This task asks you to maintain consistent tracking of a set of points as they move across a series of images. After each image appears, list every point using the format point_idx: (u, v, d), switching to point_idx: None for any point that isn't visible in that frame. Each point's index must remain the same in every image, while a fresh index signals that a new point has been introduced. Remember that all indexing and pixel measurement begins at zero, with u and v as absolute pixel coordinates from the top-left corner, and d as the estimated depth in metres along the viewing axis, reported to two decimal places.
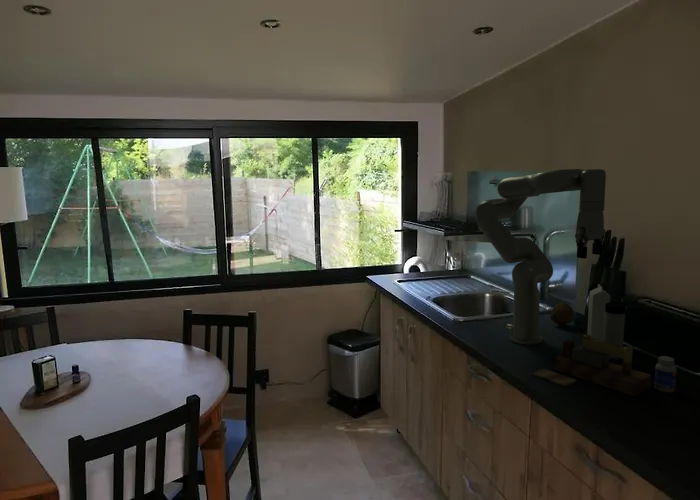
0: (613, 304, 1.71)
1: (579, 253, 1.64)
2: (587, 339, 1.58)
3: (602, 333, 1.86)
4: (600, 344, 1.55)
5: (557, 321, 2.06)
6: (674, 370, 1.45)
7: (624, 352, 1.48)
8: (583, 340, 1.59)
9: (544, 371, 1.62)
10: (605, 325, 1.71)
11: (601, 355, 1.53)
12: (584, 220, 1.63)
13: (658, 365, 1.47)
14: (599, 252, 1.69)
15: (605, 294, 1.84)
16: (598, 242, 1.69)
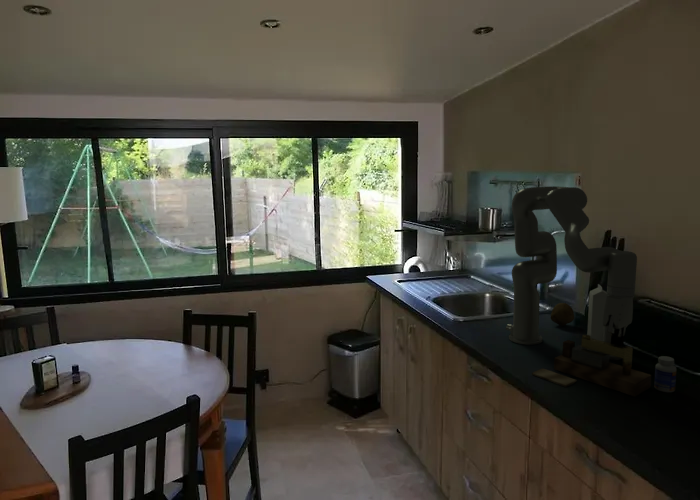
0: None
1: (613, 343, 1.53)
2: (587, 339, 1.58)
3: (602, 333, 1.86)
4: (599, 344, 1.54)
5: (557, 321, 2.06)
6: (674, 370, 1.45)
7: (624, 352, 1.48)
8: (583, 340, 1.59)
9: (544, 371, 1.62)
10: None
11: (601, 355, 1.53)
12: (612, 307, 1.49)
13: (658, 365, 1.47)
14: (620, 345, 1.53)
15: (605, 294, 1.84)
16: None
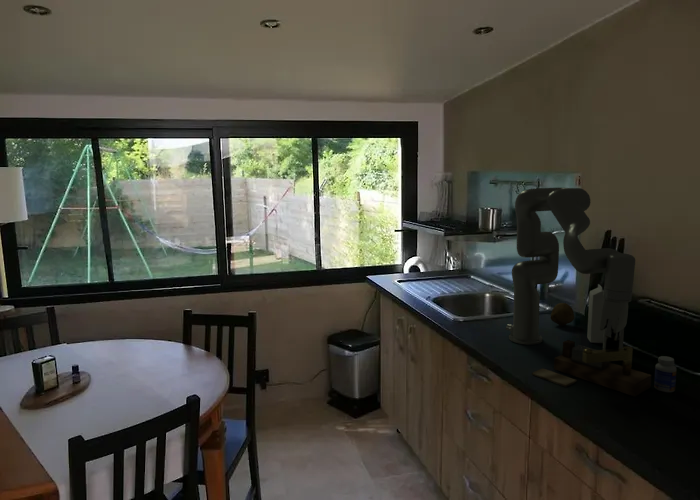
0: None
1: (609, 347, 1.50)
2: (592, 353, 1.46)
3: (602, 333, 1.86)
4: (605, 353, 1.47)
5: (557, 321, 2.06)
6: (674, 370, 1.45)
7: (628, 353, 1.48)
8: (588, 355, 1.46)
9: (544, 371, 1.62)
10: None
11: None
12: (610, 311, 1.45)
13: (658, 365, 1.47)
14: None
15: None
16: None
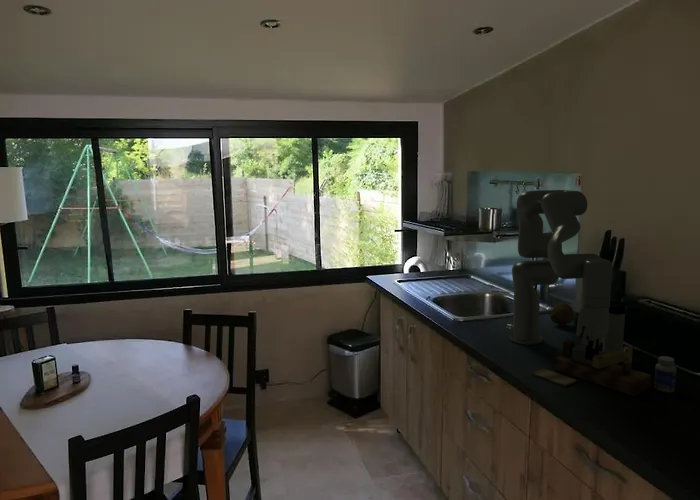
0: (613, 304, 1.71)
1: (588, 355, 1.45)
2: (602, 357, 1.43)
3: None
4: (612, 356, 1.44)
5: (557, 321, 2.06)
6: (674, 370, 1.45)
7: (630, 353, 1.48)
8: (600, 361, 1.42)
9: (544, 371, 1.62)
10: None
11: None
12: (586, 318, 1.41)
13: (658, 365, 1.47)
14: None
15: None
16: None
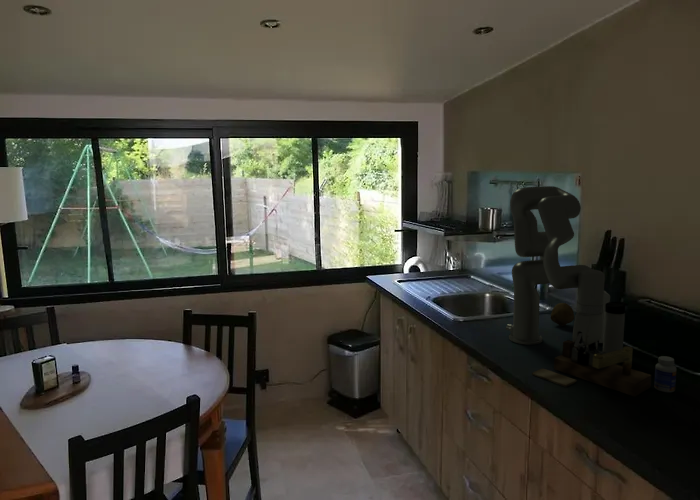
0: (613, 304, 1.71)
1: (580, 360, 1.57)
2: (603, 358, 1.43)
3: (602, 333, 1.86)
4: (612, 356, 1.44)
5: (557, 321, 2.06)
6: (674, 370, 1.45)
7: (630, 353, 1.48)
8: (600, 361, 1.42)
9: (544, 371, 1.62)
10: (605, 325, 1.71)
11: None
12: (581, 324, 1.54)
13: (658, 365, 1.47)
14: None
15: (605, 294, 1.84)
16: (592, 347, 1.59)
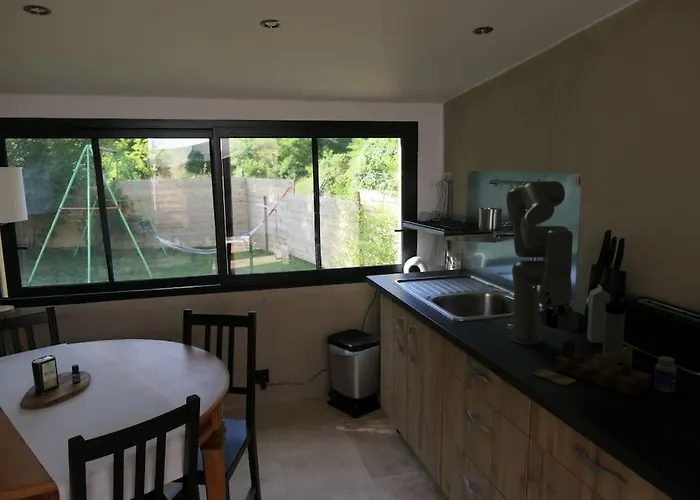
0: (613, 304, 1.71)
1: (548, 322, 1.53)
2: (603, 358, 1.43)
3: (602, 333, 1.86)
4: (612, 356, 1.44)
5: None
6: (674, 370, 1.45)
7: (630, 353, 1.48)
8: (600, 361, 1.42)
9: (544, 371, 1.62)
10: (605, 325, 1.71)
11: (569, 316, 1.49)
12: (549, 284, 1.50)
13: (658, 365, 1.47)
14: None
15: (605, 294, 1.84)
16: (561, 310, 1.55)
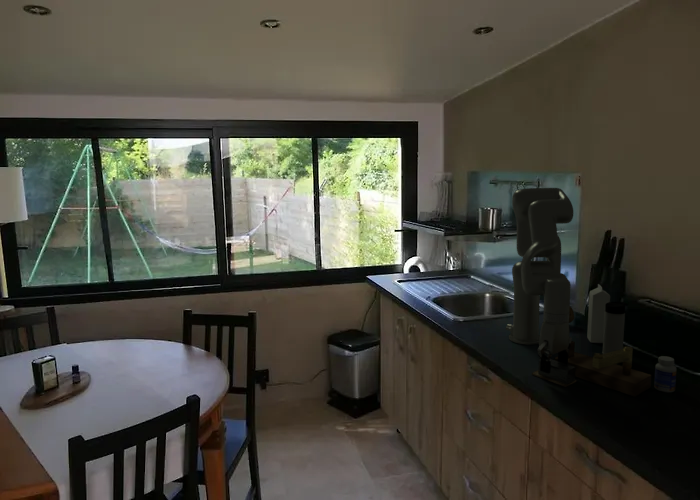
0: (613, 304, 1.71)
1: (542, 367, 1.54)
2: (603, 358, 1.43)
3: (602, 333, 1.86)
4: (612, 356, 1.44)
5: None
6: (674, 370, 1.45)
7: (630, 353, 1.48)
8: (600, 361, 1.42)
9: None
10: (605, 325, 1.71)
11: (567, 369, 1.52)
12: (547, 332, 1.52)
13: (658, 365, 1.47)
14: (565, 363, 1.59)
15: (605, 294, 1.84)
16: (564, 352, 1.59)
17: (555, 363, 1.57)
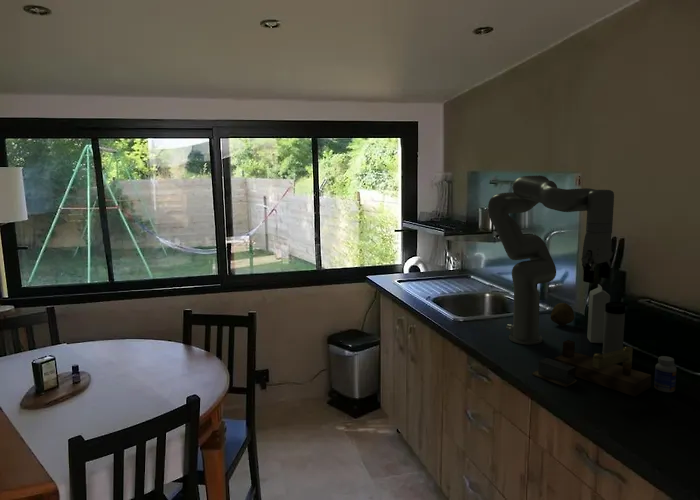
0: (613, 304, 1.71)
1: (586, 277, 1.57)
2: (603, 358, 1.43)
3: (602, 333, 1.86)
4: (612, 356, 1.44)
5: (557, 321, 2.06)
6: (674, 370, 1.45)
7: (630, 353, 1.48)
8: (600, 361, 1.42)
9: None
10: (605, 325, 1.71)
11: (567, 369, 1.52)
12: (591, 242, 1.55)
13: (658, 365, 1.47)
14: (606, 275, 1.62)
15: (605, 294, 1.84)
16: (605, 265, 1.62)
17: (555, 363, 1.57)
